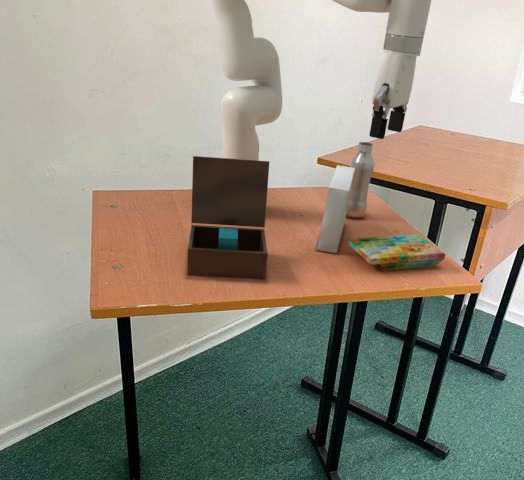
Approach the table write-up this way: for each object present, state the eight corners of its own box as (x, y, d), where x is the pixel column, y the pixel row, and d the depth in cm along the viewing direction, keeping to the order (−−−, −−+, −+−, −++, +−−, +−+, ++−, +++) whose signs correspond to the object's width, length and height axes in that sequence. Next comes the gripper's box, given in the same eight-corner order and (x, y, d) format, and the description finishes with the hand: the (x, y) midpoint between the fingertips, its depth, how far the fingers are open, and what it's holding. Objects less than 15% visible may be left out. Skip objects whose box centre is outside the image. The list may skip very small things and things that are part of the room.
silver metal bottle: (342, 210, 170) (353, 139, 159) (365, 214, 169) (378, 142, 158) (340, 218, 164) (352, 144, 153) (364, 221, 163) (377, 148, 153)
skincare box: (338, 254, 142) (349, 190, 134) (316, 251, 143) (325, 186, 135) (345, 225, 160) (355, 166, 151) (326, 222, 161) (334, 163, 152)
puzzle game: (446, 250, 138) (370, 255, 132) (441, 268, 140) (367, 274, 134) (420, 231, 147) (348, 235, 141) (416, 249, 150) (345, 253, 143)
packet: (235, 273, 127) (237, 238, 123) (217, 272, 127) (218, 237, 123) (235, 262, 132) (237, 228, 128) (217, 261, 132) (219, 227, 127)
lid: (269, 161, 128) (268, 159, 132) (193, 156, 127) (194, 154, 131) (264, 227, 134) (263, 223, 138) (191, 223, 132) (192, 219, 136)
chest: (264, 282, 126) (267, 253, 123) (187, 278, 125) (187, 248, 121) (261, 256, 138) (264, 229, 134) (190, 252, 136) (191, 224, 133)
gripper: (401, 41, 125) (385, 125, 134) (367, 44, 113) (352, 136, 122) (434, 46, 122) (416, 131, 131) (404, 50, 109) (386, 144, 119)
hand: (385, 134), depth 127 cm, fingers open, 9 cm apart
